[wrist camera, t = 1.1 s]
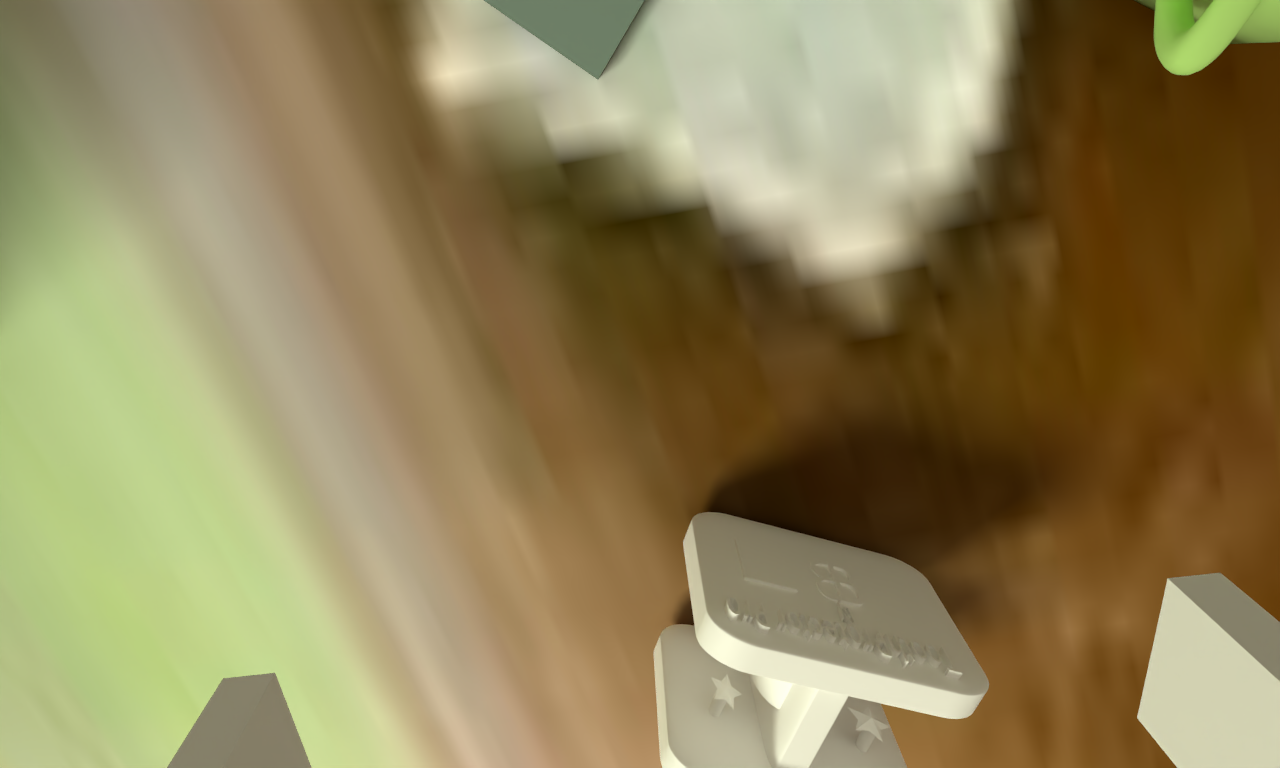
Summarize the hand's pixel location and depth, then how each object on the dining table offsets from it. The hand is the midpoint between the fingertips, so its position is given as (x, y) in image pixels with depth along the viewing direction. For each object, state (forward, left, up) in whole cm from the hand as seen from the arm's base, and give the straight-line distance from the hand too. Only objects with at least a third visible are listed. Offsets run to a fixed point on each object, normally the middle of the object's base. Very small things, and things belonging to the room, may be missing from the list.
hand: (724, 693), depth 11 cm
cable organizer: (+19, -13, -29) cm, 37 cm away
